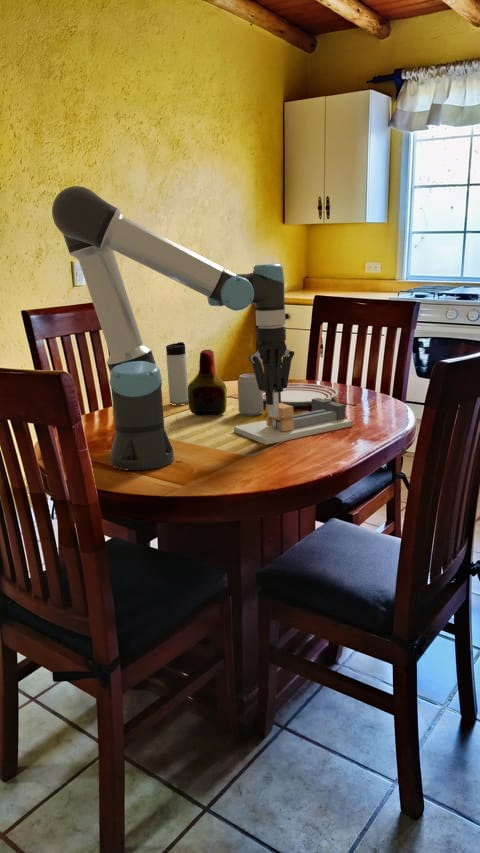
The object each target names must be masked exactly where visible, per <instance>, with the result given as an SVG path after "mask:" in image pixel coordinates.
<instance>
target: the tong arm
mask: <svg viewBox="0 0 480 853" xmlns="http://www.w3.org/2000/svg"><path fill="white" fill-rule="evenodd" d="M311 411H312V410H311ZM311 411H307V413H306V412H302V414H301V413H298V414H293V415H294V418H298V417H303V416H308V415H313V414H318V413H323V412H327V410H324V409H322V410H317V411H312V412H311ZM278 421H279V420H276V419H273V428H275V429H277V422H278Z"/></svg>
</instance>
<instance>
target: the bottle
mask: <svg viewBox="0 0 480 853" xmlns="http://www.w3.org/2000/svg"><path fill="white" fill-rule="evenodd" d="M198 367H199V369H198V373H197V374H196V375H195V376H194V378H193V379H192V380H191V381H190V382H188V402H189V403H188V408H189V410H190V412H191V413H192V414H194V415H195V416H197V417H202V416H213V417H218V416H221V415H223V414H225V413H226V410H227V406H228V388H227V386H226V385H227V384H226V383H225V382H224V381H223V380H222V379H221V378H220V377H219V376H218V375H217V372H216V365H215V355H214V351H213V350H212V349H203V350H202V351H201V352H200V353H199V366H198Z"/></svg>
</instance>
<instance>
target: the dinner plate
mask: <svg viewBox="0 0 480 853" xmlns="http://www.w3.org/2000/svg"><path fill="white" fill-rule="evenodd" d="M273 391H274V390H273ZM338 393H339V391H338V390H337V389H336V388H334V387H331V386H327V385H321V384H316V383H315V384H314V383H300V382H299V383H297V382H295V383H294V382H292V383H290V382H288V384H287V387H286V388H284V389H283V391H282V392H281V403H283V404H286V405H290V406H293V408H294V407H306V406H307V407H308V406H312V399H315V398H321V399H324V398H331V399H333V398H335V397H337V396H338ZM263 402H266V393H265V391H263Z"/></svg>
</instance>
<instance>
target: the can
mask: <svg viewBox="0 0 480 853" xmlns="http://www.w3.org/2000/svg"><path fill="white" fill-rule="evenodd" d="M237 396H238V397H237V398H238V399H237V400H238V401H237V403H238V412H239V413H240V414H241V415H242V416H248V417H254V416H259V415H261V413H263V411H264V400H263V391H261V390H259V388H258V384H257V380H256V376H255V373H244V374H242V373H241V374H240V375H239V378H238V379H237Z"/></svg>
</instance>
